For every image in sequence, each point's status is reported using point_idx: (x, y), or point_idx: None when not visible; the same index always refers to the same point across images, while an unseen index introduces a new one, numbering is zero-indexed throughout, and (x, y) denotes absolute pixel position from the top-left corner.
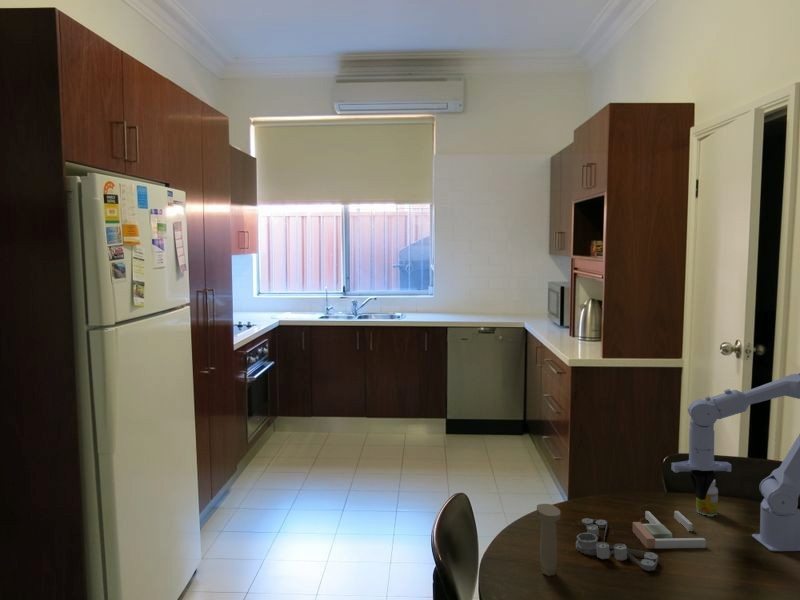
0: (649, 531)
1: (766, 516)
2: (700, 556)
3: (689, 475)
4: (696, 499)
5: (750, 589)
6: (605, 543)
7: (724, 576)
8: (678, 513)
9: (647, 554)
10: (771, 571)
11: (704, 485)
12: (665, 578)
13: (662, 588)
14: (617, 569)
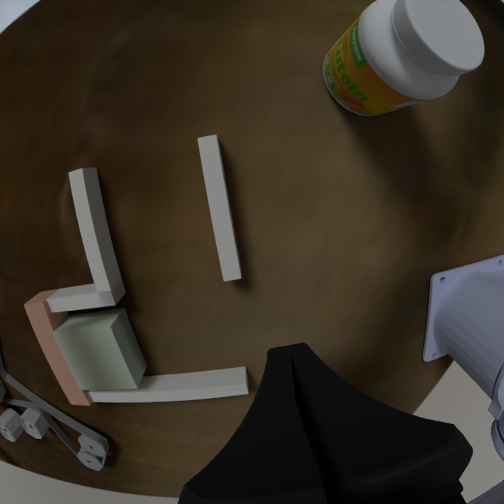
0: (71, 371)
1: (482, 380)
2: (215, 416)
3: (214, 462)
4: (338, 50)
5: None
6: (6, 426)
7: None
8: (208, 167)
9: (84, 442)
10: None
11: (318, 471)
12: (126, 472)
13: (122, 486)
14: (48, 442)
